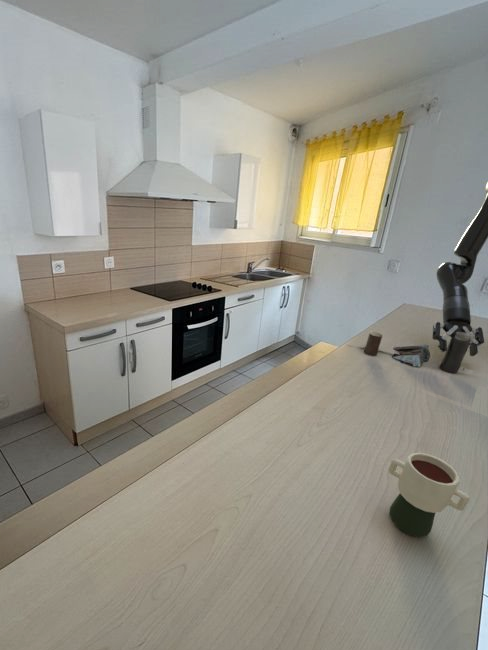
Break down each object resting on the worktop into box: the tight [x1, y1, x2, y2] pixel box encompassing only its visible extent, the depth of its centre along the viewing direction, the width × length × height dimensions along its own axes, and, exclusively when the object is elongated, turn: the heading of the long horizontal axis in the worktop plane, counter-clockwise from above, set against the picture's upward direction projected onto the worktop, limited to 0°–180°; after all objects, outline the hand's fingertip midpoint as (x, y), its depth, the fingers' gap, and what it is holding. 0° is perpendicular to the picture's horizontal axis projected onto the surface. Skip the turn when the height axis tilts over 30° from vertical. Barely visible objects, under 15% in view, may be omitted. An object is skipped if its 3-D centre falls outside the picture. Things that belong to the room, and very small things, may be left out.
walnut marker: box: [363, 331, 383, 357], centre depth 123 cm, size 4×4×8 cm
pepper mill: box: [439, 332, 471, 374], centre depth 111 cm, size 5×5×14 cm
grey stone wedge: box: [391, 344, 431, 368], centre depth 118 cm, size 10×7×12 cm
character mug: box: [387, 452, 470, 538], centre depth 55 cm, size 11×7×13 cm, turn 44°
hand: (458, 353), depth 110 cm, fingers open, 8 cm apart
